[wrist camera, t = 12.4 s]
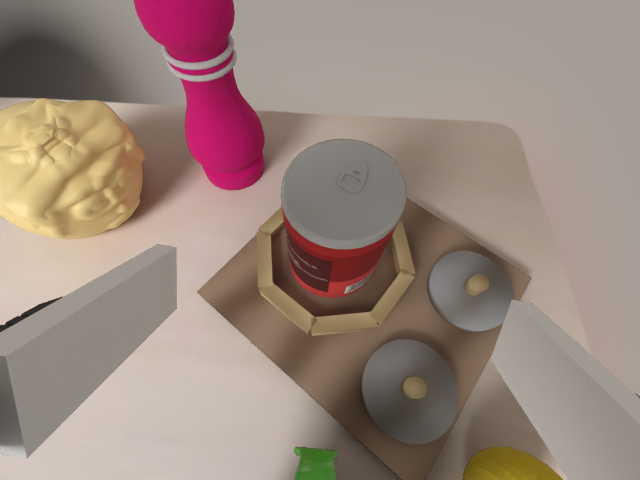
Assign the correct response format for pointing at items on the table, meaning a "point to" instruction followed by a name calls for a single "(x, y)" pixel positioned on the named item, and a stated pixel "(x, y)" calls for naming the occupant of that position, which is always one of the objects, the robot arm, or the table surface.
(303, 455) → the snack cup
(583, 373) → the robot arm
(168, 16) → the pepper mill
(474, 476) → the lemon
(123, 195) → the sculpture
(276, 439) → the table surface
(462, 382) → the board
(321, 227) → the canned food
